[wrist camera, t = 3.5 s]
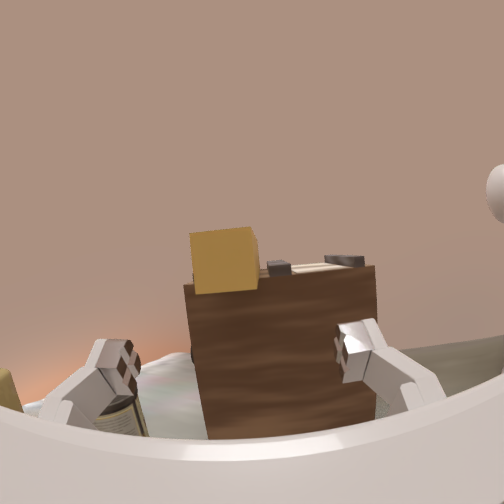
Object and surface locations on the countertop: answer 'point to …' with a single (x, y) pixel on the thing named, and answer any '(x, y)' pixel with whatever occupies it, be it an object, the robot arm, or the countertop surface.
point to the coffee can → (123, 417)
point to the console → (281, 350)
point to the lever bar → (225, 260)
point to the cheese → (8, 392)
